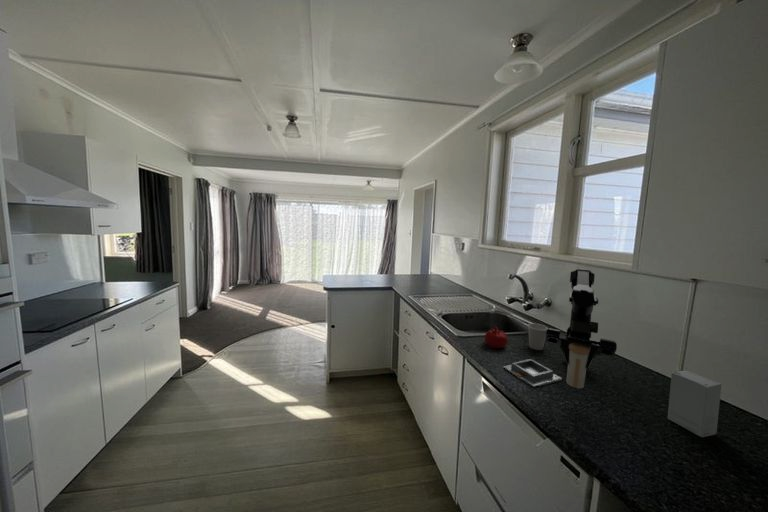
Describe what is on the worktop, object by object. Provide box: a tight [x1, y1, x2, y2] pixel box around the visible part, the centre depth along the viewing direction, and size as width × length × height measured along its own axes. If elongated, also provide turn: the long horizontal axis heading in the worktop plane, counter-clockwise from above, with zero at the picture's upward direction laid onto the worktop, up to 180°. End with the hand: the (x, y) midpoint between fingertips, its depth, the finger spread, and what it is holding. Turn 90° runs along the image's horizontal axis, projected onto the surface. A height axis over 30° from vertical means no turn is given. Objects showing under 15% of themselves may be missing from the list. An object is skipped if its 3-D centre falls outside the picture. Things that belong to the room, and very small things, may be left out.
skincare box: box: [667, 370, 722, 438], centre depth 81 cm, size 8×6×15 cm
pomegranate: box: [484, 326, 509, 349], centre depth 131 cm, size 10×10×9 cm
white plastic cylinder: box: [565, 343, 590, 389], centre depth 90 cm, size 6×5×12 cm
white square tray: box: [502, 358, 563, 388], centre depth 108 cm, size 14×14×3 cm
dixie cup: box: [527, 322, 549, 351], centre depth 130 cm, size 8×8×10 cm
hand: (577, 366), depth 89 cm, fingers closed on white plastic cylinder, 5 cm apart
